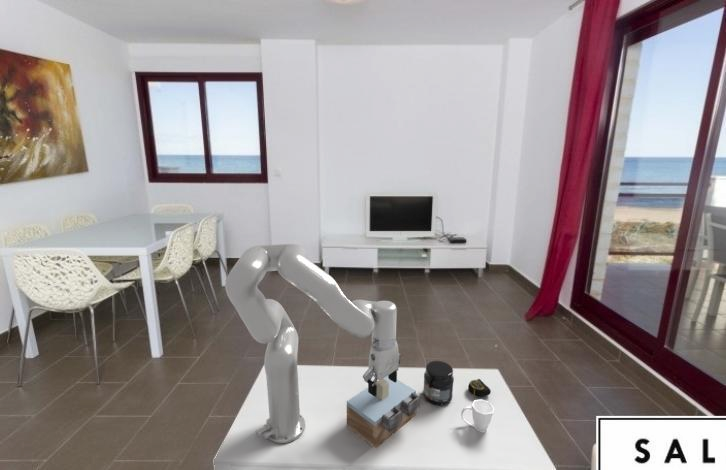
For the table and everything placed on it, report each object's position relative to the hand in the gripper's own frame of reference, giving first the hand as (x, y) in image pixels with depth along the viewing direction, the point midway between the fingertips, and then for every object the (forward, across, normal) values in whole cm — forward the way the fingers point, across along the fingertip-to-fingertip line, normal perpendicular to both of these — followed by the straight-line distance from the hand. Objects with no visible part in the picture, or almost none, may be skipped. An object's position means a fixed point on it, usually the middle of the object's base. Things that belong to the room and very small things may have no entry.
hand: (382, 387), depth 117 cm
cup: (+13, +20, -24) cm, 33 cm away
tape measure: (+13, +36, -16) cm, 42 cm away
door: (+5, 0, 0) cm, 5 cm away
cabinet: (+13, 0, -2) cm, 13 cm away
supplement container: (+13, +23, -6) cm, 27 cm away
